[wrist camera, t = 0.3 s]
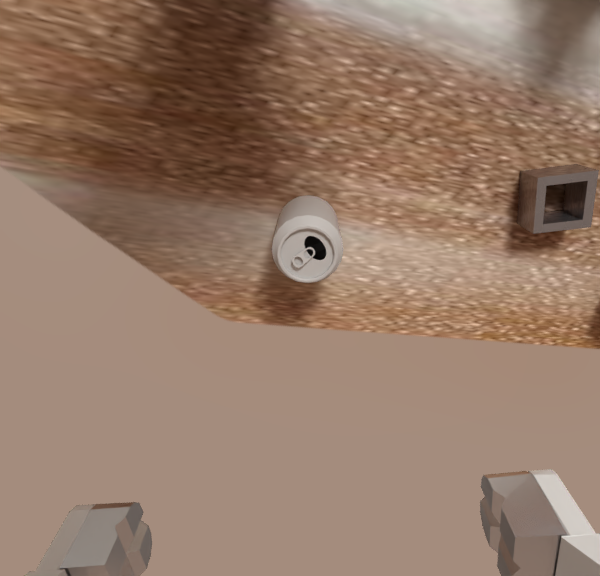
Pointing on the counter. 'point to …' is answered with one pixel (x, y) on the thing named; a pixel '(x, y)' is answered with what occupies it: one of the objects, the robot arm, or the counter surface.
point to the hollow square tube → (575, 198)
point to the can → (307, 240)
